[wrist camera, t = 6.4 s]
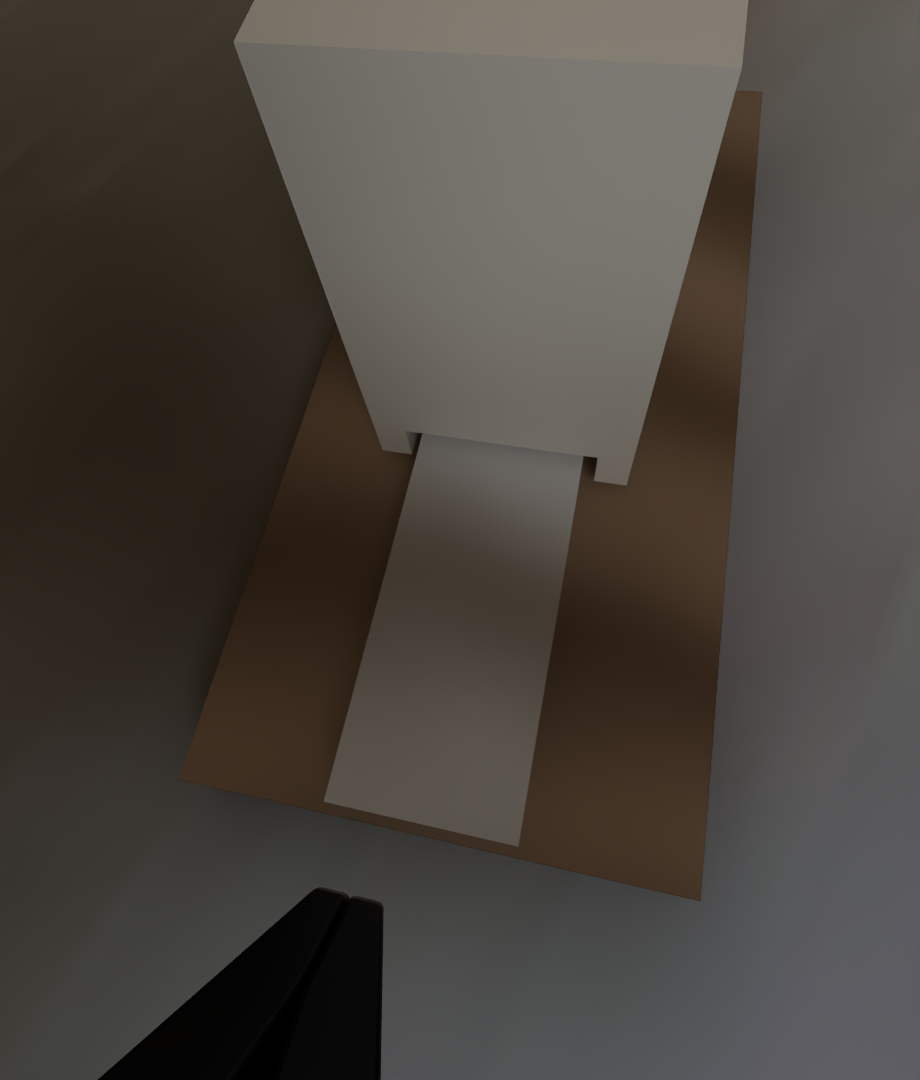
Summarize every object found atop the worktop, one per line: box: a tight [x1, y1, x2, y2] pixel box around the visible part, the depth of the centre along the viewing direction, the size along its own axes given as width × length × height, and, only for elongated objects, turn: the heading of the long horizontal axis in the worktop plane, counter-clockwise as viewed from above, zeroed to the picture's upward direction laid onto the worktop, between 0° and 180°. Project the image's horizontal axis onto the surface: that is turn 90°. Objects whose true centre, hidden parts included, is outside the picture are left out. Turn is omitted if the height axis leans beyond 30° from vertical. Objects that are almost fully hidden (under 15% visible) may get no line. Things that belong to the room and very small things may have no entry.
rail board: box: [179, 91, 762, 901], centre depth 17 cm, size 21×10×2 cm, turn 168°
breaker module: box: [234, 0, 748, 485], centre depth 12 cm, size 7×6×10 cm
